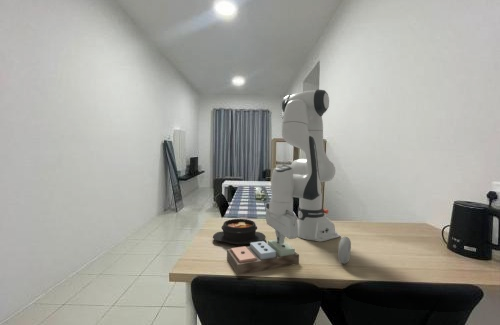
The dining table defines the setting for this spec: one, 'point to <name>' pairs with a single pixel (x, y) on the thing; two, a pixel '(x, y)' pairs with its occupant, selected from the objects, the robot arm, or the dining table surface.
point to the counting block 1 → (242, 254)
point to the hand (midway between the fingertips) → (280, 242)
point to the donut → (344, 250)
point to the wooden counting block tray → (261, 262)
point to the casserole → (239, 232)
